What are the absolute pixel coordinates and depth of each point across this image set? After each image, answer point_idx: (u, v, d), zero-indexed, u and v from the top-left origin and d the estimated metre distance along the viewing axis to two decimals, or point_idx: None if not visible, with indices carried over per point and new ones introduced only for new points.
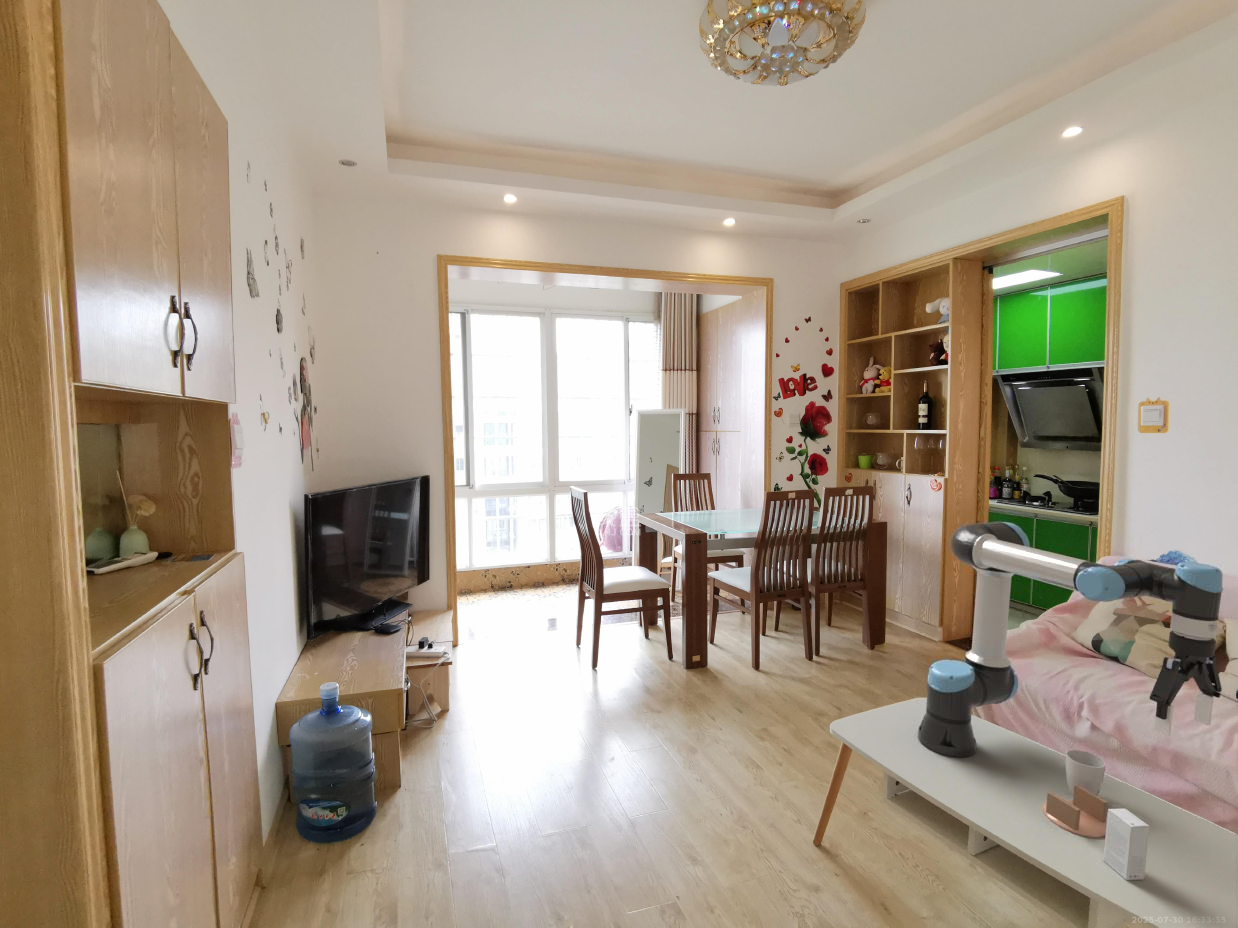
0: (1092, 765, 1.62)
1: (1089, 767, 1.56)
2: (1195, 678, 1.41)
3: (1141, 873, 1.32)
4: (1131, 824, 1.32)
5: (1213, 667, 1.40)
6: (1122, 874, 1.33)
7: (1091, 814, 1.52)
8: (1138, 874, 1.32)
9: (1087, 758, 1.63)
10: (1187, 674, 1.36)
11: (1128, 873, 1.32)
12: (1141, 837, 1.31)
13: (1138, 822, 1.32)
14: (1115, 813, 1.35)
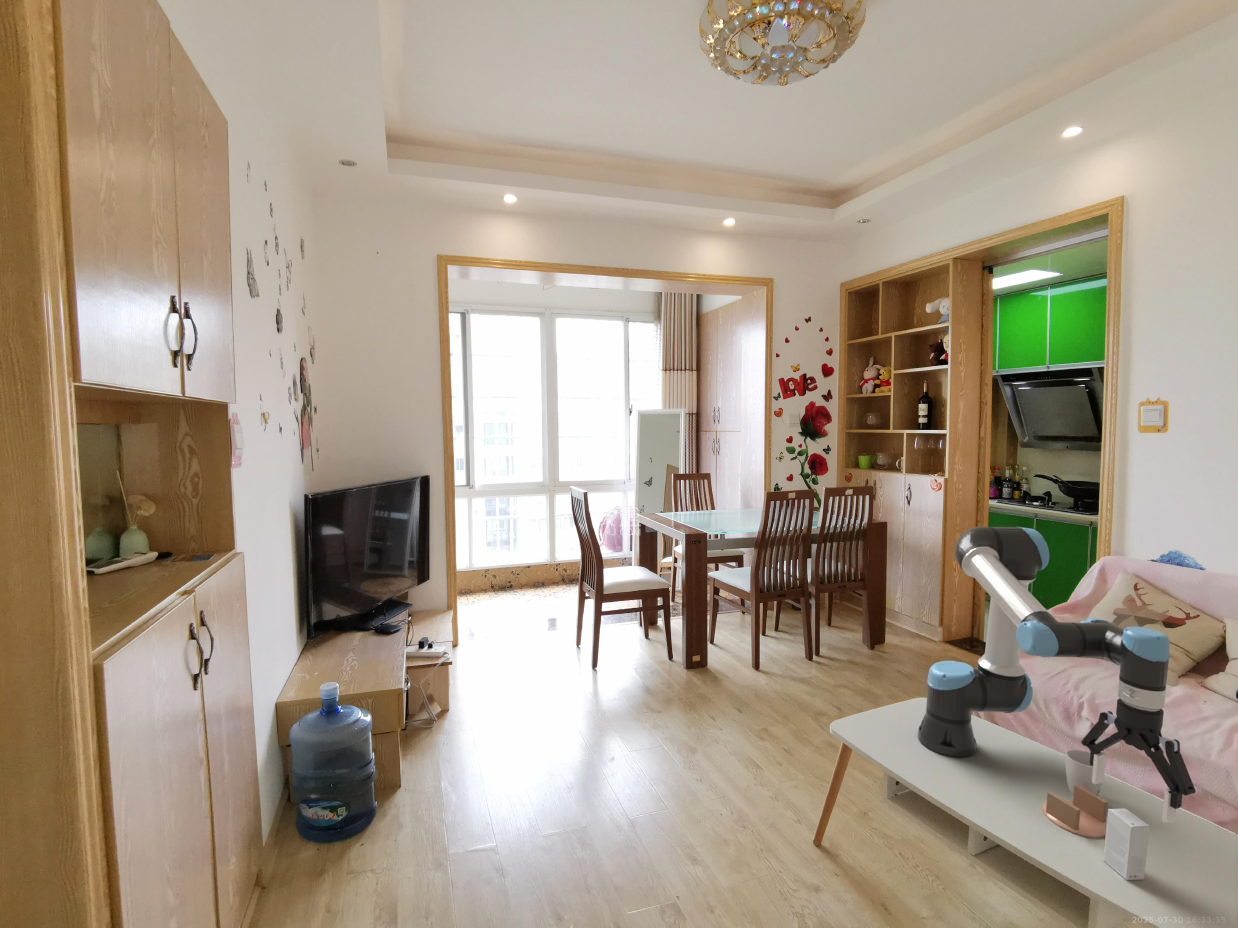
0: None
1: (1089, 767, 1.56)
2: None
3: (1141, 873, 1.32)
4: (1131, 824, 1.32)
5: (1167, 756, 1.26)
6: (1122, 874, 1.33)
7: (1091, 814, 1.52)
8: (1138, 874, 1.32)
9: (1087, 758, 1.63)
10: (1114, 733, 1.35)
11: (1128, 873, 1.32)
12: (1141, 837, 1.31)
13: (1138, 822, 1.32)
14: (1115, 813, 1.35)
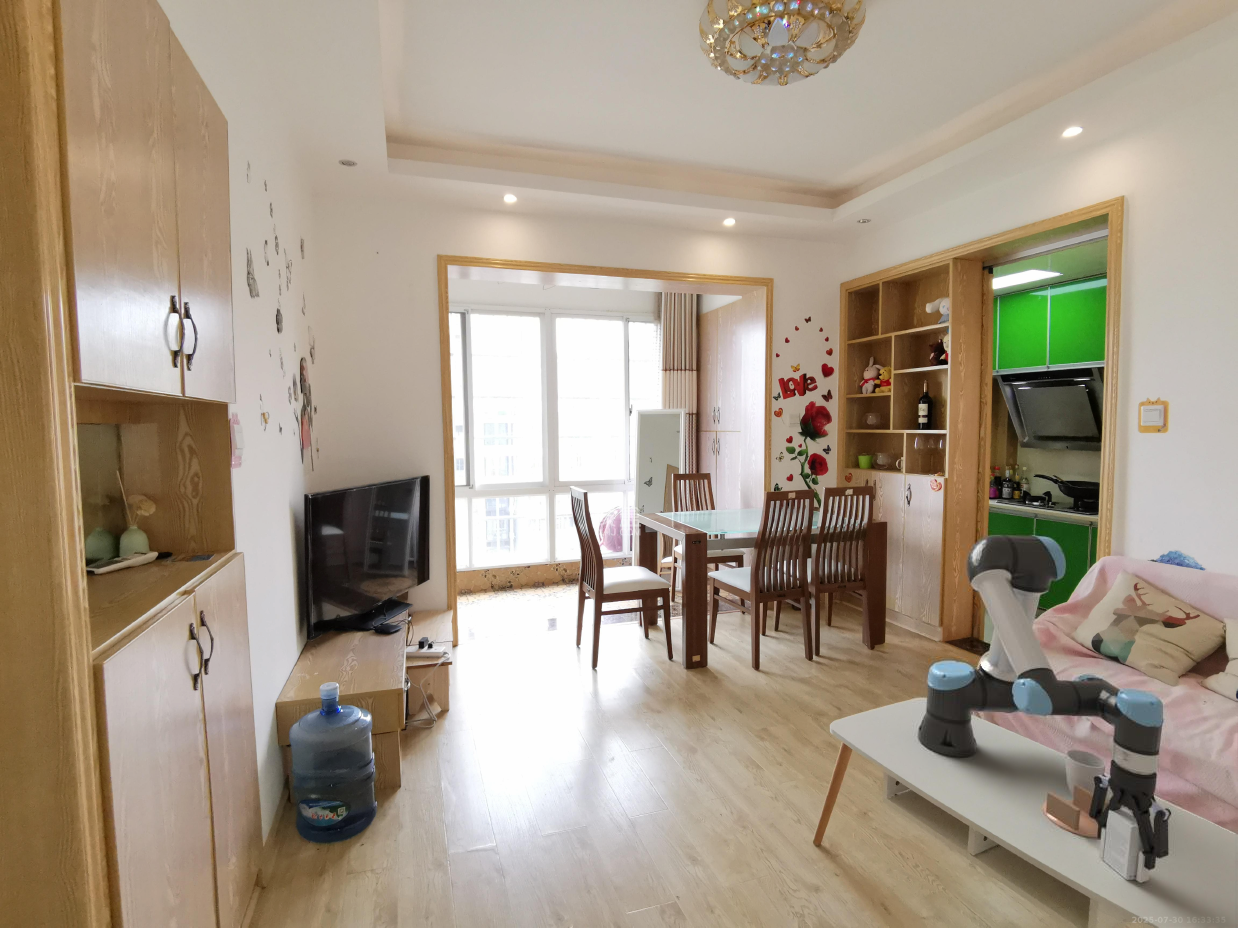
0: (1092, 765, 1.62)
1: (1089, 767, 1.56)
2: None
3: None
4: (1131, 824, 1.32)
5: (1154, 822, 1.28)
6: (1122, 874, 1.33)
7: None
8: None
9: (1087, 758, 1.63)
10: (1111, 797, 1.35)
11: (1128, 873, 1.32)
12: None
13: None
14: (1115, 812, 1.35)
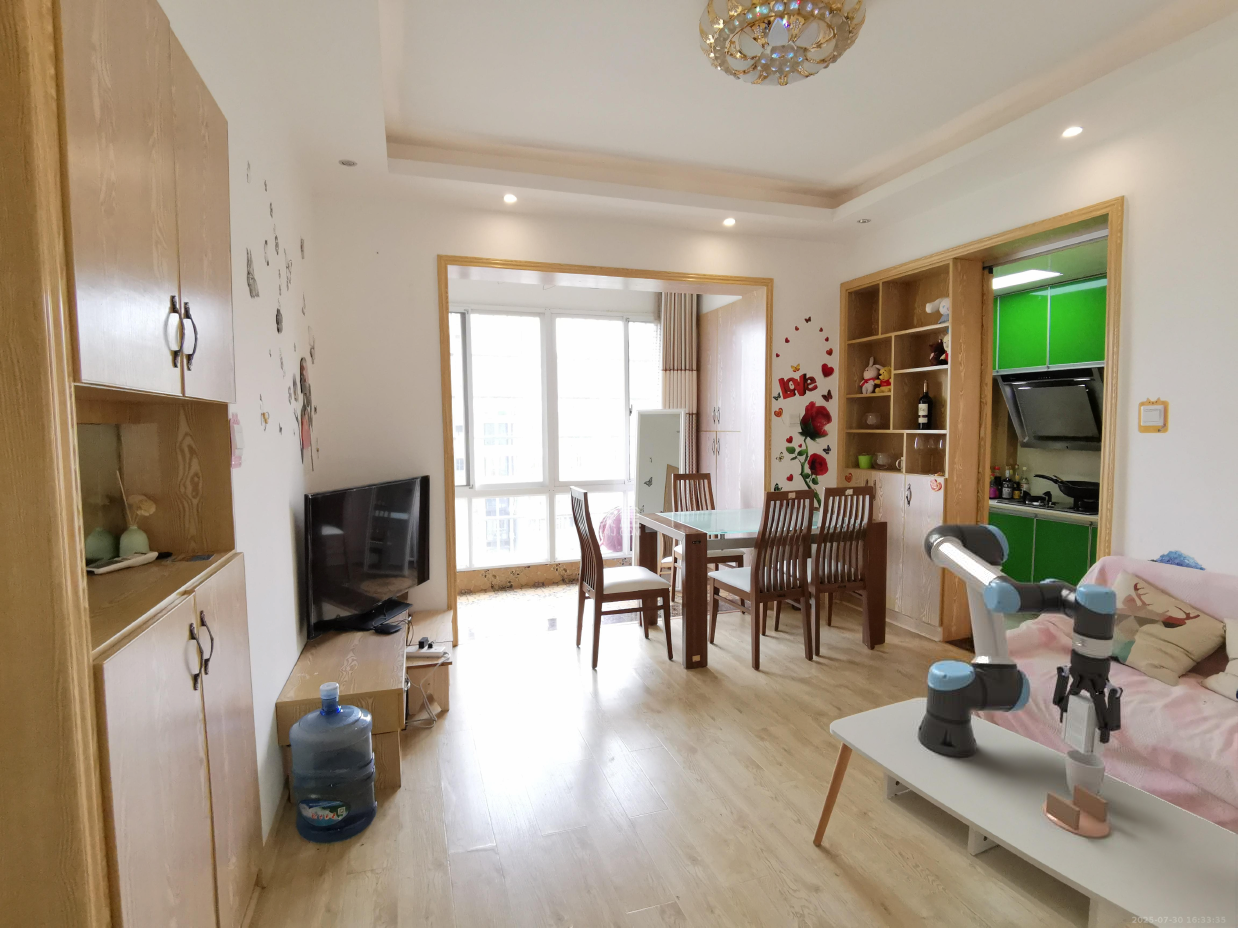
0: (1092, 765, 1.62)
1: (1089, 767, 1.56)
2: None
3: None
4: (1088, 703, 1.46)
5: (1108, 699, 1.43)
6: (1080, 750, 1.47)
7: (1091, 814, 1.52)
8: None
9: (1087, 758, 1.63)
10: (1071, 683, 1.50)
11: (1085, 748, 1.46)
12: None
13: None
14: (1075, 696, 1.50)
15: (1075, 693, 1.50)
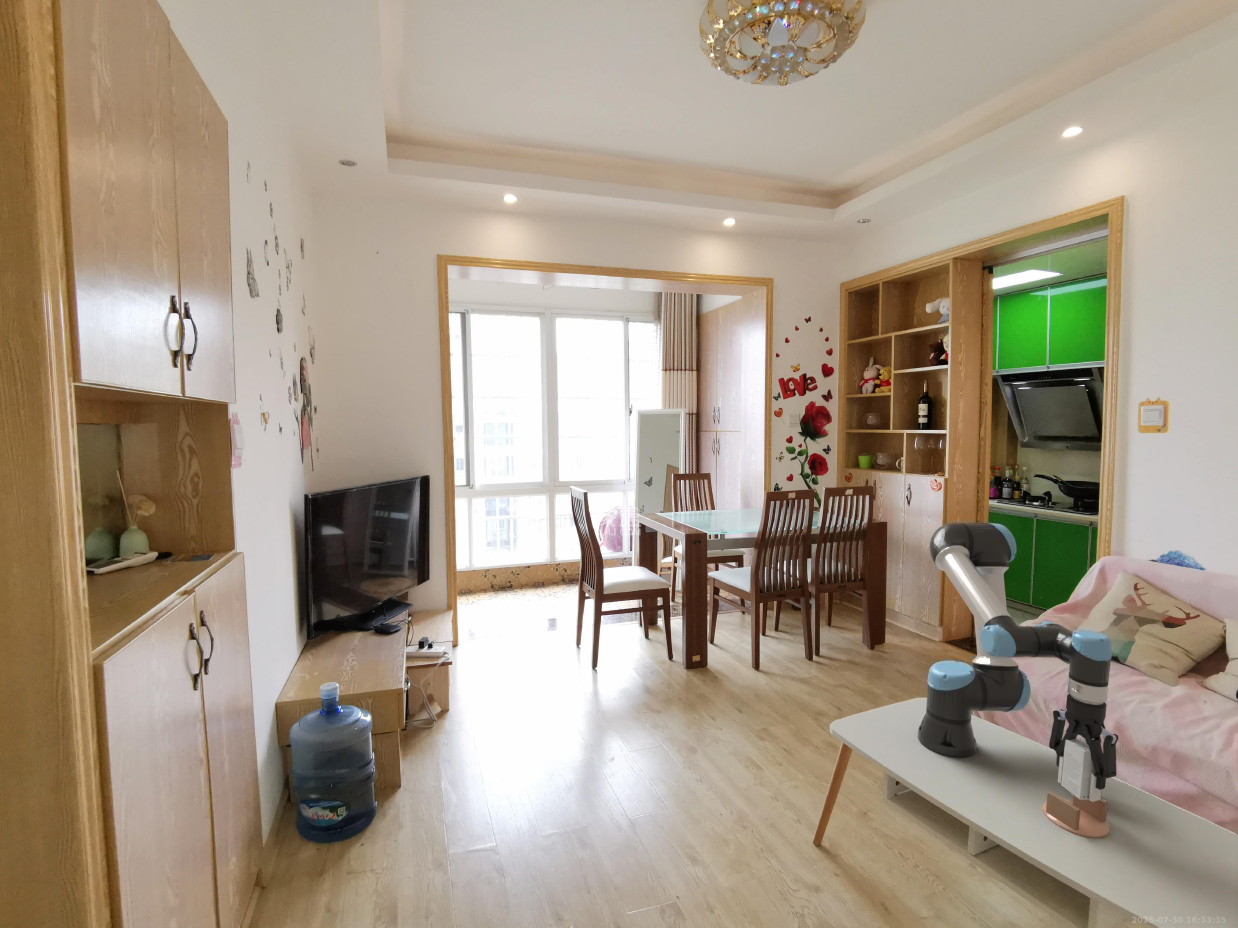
0: None
1: None
2: None
3: None
4: (1084, 749, 1.47)
5: (1104, 746, 1.44)
6: (1077, 795, 1.48)
7: (1091, 814, 1.52)
8: None
9: None
10: (1067, 728, 1.51)
11: (1081, 793, 1.47)
12: None
13: None
14: (1071, 741, 1.51)
15: (1071, 738, 1.51)
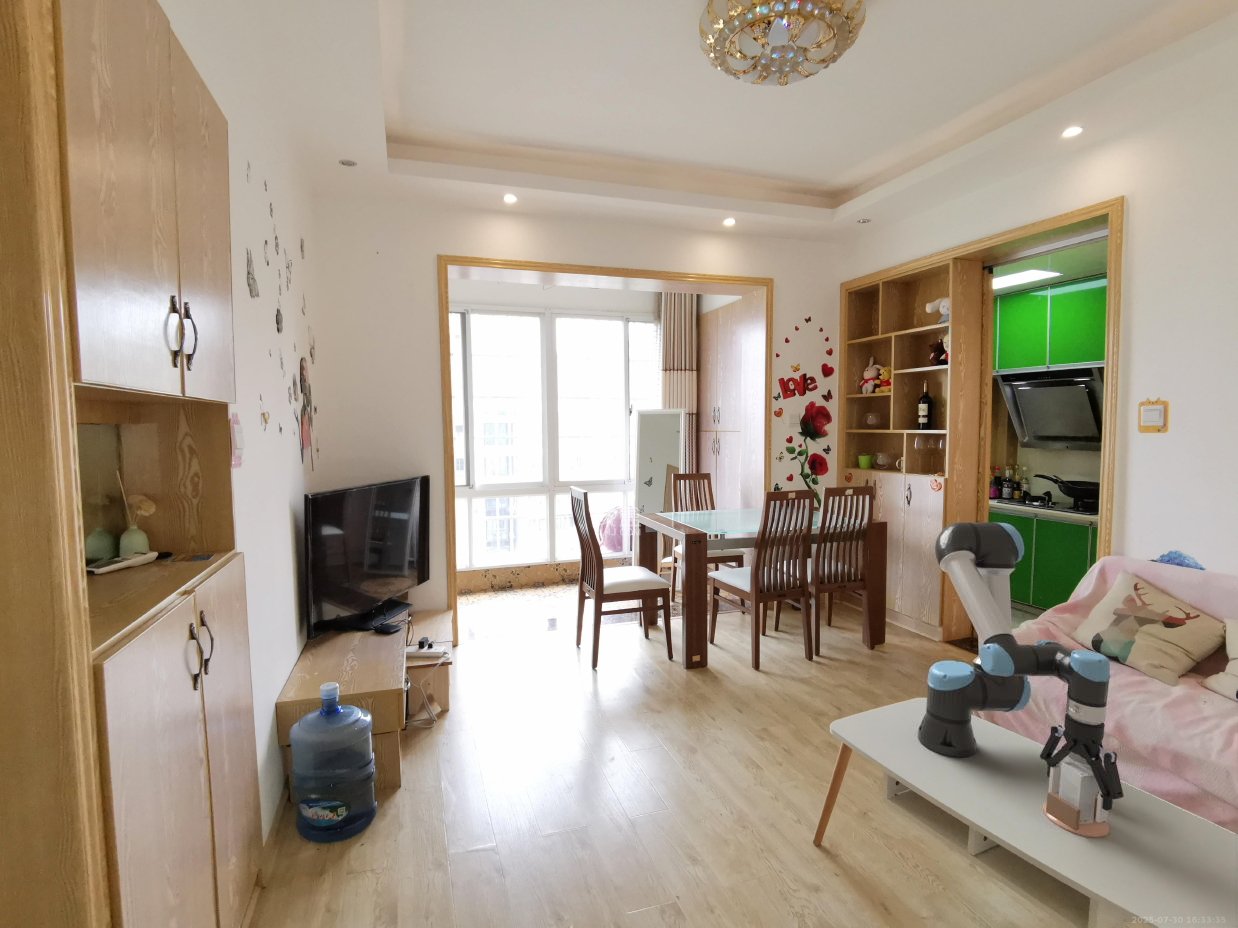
0: None
1: (1089, 767, 1.56)
2: None
3: (1090, 817, 1.49)
4: (1081, 774, 1.48)
5: (1104, 765, 1.44)
6: None
7: None
8: (1087, 819, 1.48)
9: None
10: (1064, 745, 1.52)
11: None
12: (1090, 785, 1.48)
13: (1087, 772, 1.49)
14: (1067, 765, 1.52)
15: (1065, 753, 1.53)
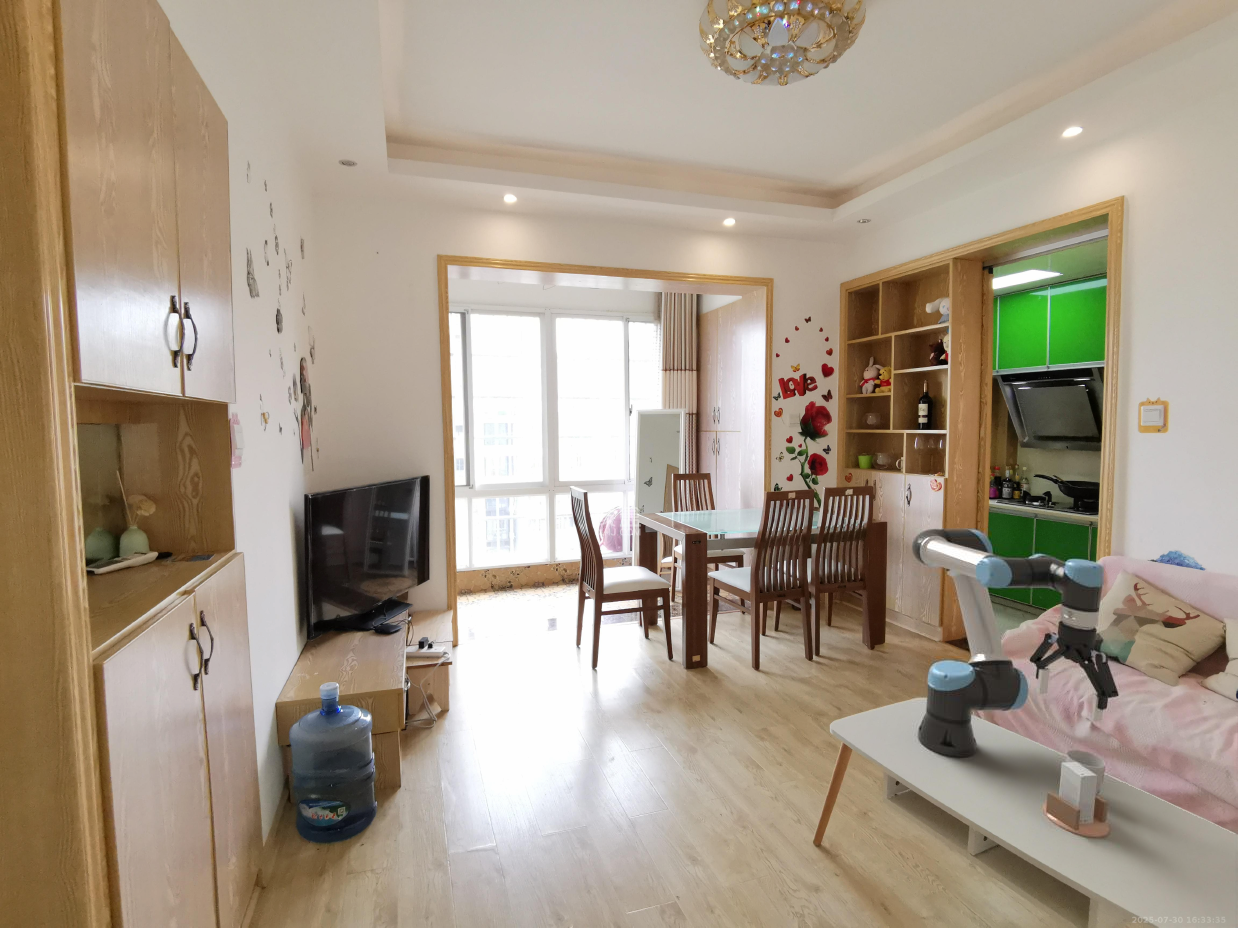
0: (1092, 765, 1.62)
1: (1089, 767, 1.56)
2: None
3: (1090, 817, 1.49)
4: (1081, 774, 1.48)
5: (1097, 666, 1.48)
6: None
7: None
8: (1087, 819, 1.48)
9: (1087, 758, 1.63)
10: (1056, 650, 1.57)
11: None
12: (1090, 785, 1.48)
13: (1088, 772, 1.49)
14: (1067, 765, 1.52)
15: (1056, 658, 1.58)
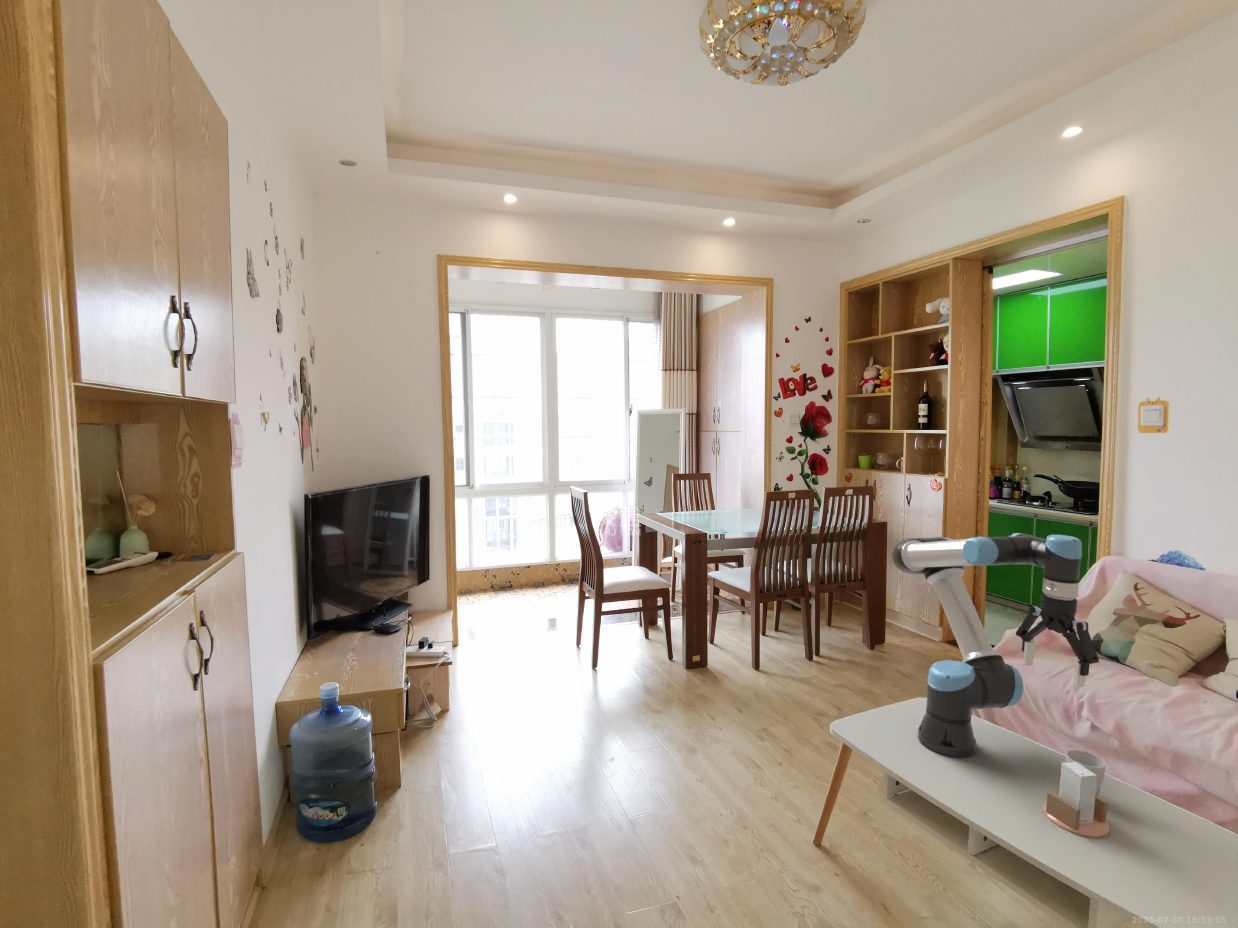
0: (1092, 765, 1.62)
1: (1089, 767, 1.56)
2: None
3: (1090, 817, 1.49)
4: (1081, 774, 1.48)
5: (1078, 634, 1.57)
6: None
7: None
8: (1087, 819, 1.48)
9: (1087, 758, 1.63)
10: (1040, 622, 1.66)
11: None
12: (1090, 785, 1.48)
13: (1088, 772, 1.49)
14: (1067, 765, 1.52)
15: (1040, 630, 1.67)
